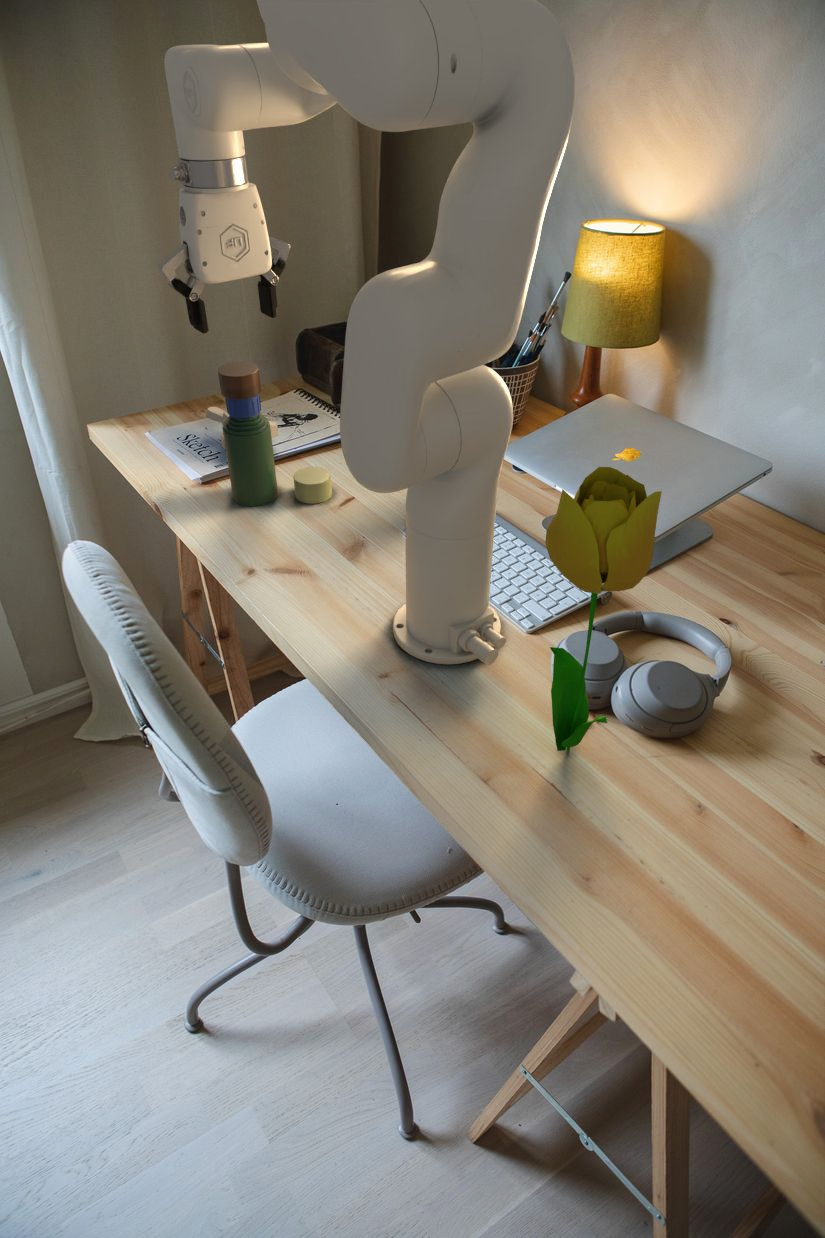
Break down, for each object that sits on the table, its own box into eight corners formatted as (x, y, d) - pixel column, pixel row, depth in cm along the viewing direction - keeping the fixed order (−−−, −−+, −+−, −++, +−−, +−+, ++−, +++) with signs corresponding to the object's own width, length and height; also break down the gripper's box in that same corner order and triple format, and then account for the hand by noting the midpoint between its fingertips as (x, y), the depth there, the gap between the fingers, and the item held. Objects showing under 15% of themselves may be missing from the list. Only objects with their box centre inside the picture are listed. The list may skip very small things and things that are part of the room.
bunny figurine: (231, 443, 127) (197, 398, 136) (234, 471, 130) (201, 426, 139) (288, 429, 130) (251, 387, 139) (289, 457, 134) (253, 414, 143)
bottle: (286, 497, 122) (275, 398, 112) (245, 511, 118) (231, 410, 109) (264, 480, 126) (252, 382, 116) (225, 492, 123) (209, 394, 113)
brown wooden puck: (268, 393, 112) (265, 370, 110) (232, 403, 109) (228, 379, 107) (249, 380, 115) (247, 358, 113) (214, 390, 113) (210, 367, 111)
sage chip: (338, 496, 122) (337, 477, 120) (307, 507, 119) (305, 488, 117) (319, 482, 125) (318, 463, 123) (288, 492, 123) (286, 473, 121)
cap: (267, 412, 114) (264, 393, 112) (236, 421, 111) (234, 401, 110) (251, 401, 117) (249, 382, 115) (221, 409, 114) (218, 390, 113)
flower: (627, 752, 82) (690, 484, 63) (576, 796, 77) (628, 522, 59) (558, 708, 87) (598, 447, 68) (507, 747, 82) (535, 479, 64)
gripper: (157, 187, 89) (185, 344, 100) (295, 169, 97) (308, 316, 108) (131, 178, 94) (160, 329, 105) (265, 161, 102) (280, 303, 113)
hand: (235, 322), depth 106 cm, fingers open, 9 cm apart
